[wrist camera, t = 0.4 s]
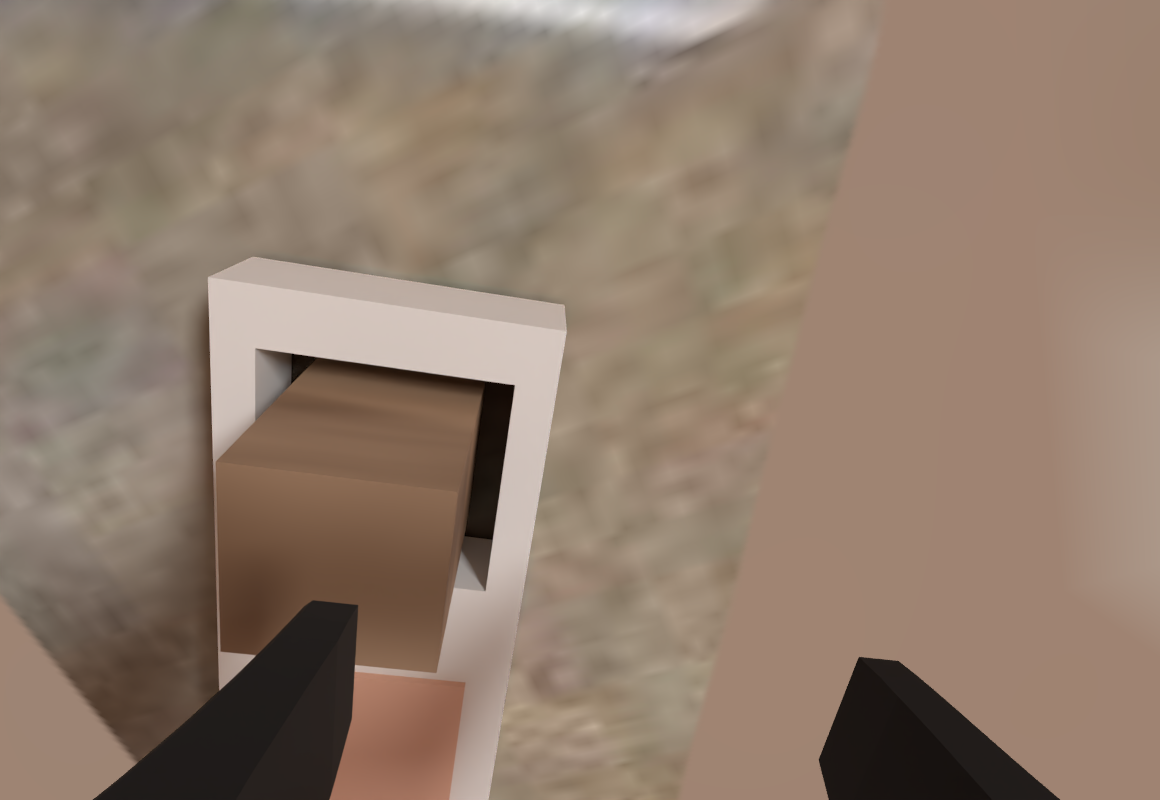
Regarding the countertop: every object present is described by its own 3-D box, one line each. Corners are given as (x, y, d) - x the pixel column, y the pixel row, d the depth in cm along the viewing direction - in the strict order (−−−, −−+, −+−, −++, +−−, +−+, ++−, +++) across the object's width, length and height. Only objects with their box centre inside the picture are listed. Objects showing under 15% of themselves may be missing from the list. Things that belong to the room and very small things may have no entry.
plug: (469, 512, 21) (436, 673, 15) (318, 494, 20) (220, 651, 14) (486, 375, 19) (457, 492, 13) (323, 352, 19) (215, 461, 13)
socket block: (485, 790, 25) (477, 865, 22) (254, 771, 24) (220, 847, 22) (564, 304, 18) (566, 333, 16) (253, 256, 18) (203, 279, 15)
